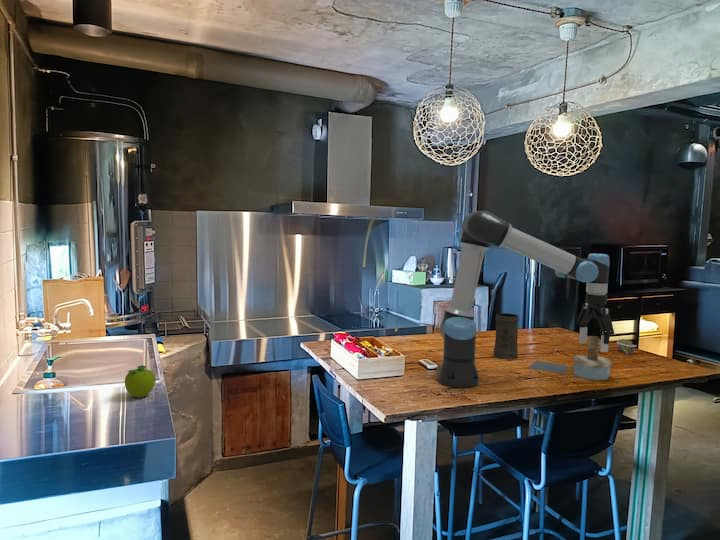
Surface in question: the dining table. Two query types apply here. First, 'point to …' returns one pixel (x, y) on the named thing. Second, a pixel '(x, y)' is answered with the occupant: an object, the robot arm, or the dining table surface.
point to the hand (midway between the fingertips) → (593, 347)
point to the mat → (549, 367)
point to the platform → (626, 346)
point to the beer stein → (506, 336)
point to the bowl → (591, 372)
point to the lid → (592, 356)
